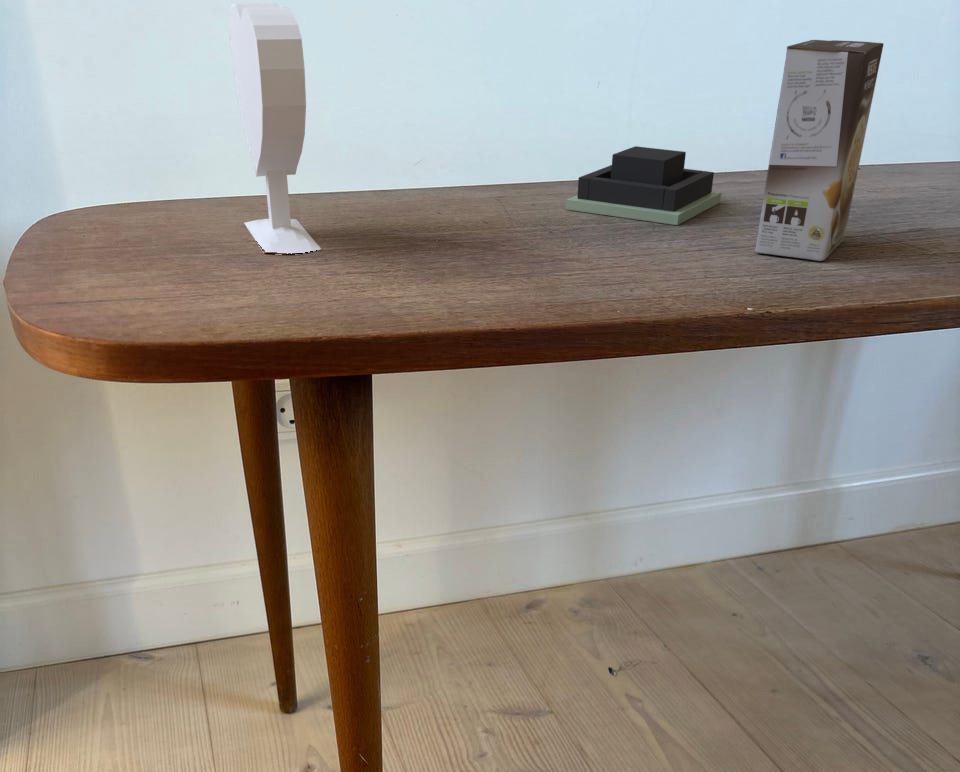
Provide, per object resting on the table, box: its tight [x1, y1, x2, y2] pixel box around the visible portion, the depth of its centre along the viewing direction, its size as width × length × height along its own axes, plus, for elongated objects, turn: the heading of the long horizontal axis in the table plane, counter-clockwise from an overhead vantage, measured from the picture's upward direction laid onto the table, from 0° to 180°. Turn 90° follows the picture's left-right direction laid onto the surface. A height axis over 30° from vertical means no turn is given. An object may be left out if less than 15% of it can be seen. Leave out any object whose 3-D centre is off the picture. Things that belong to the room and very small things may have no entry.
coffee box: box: [754, 39, 884, 262], centre depth 91 cm, size 9×6×16 cm
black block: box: [611, 145, 687, 187], centre depth 106 cm, size 6×6×4 cm
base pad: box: [565, 164, 722, 226], centre depth 107 cm, size 12×12×3 cm
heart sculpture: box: [228, 2, 322, 254], centre depth 91 cm, size 16×5×18 cm, turn 19°
